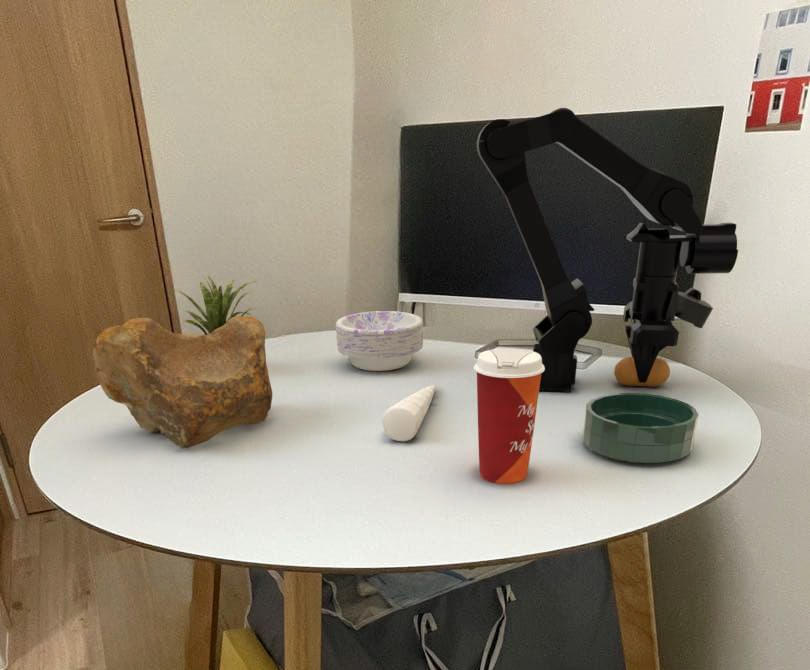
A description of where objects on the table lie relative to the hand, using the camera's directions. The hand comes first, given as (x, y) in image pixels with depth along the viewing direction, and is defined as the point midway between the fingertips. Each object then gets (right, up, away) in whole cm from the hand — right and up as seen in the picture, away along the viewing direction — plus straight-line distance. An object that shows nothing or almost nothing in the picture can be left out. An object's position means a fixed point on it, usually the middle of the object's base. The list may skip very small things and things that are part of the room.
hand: (640, 378), depth 111 cm
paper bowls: (-42, +6, +14) cm, 45 cm away
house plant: (-68, +4, +12) cm, 69 cm away
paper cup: (-26, -18, -28) cm, 43 cm away
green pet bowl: (-8, -14, -22) cm, 27 cm away
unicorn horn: (-36, -8, -10) cm, 38 cm away
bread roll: (0, -1, +1) cm, 1 cm away
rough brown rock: (-66, -11, -14) cm, 68 cm away
